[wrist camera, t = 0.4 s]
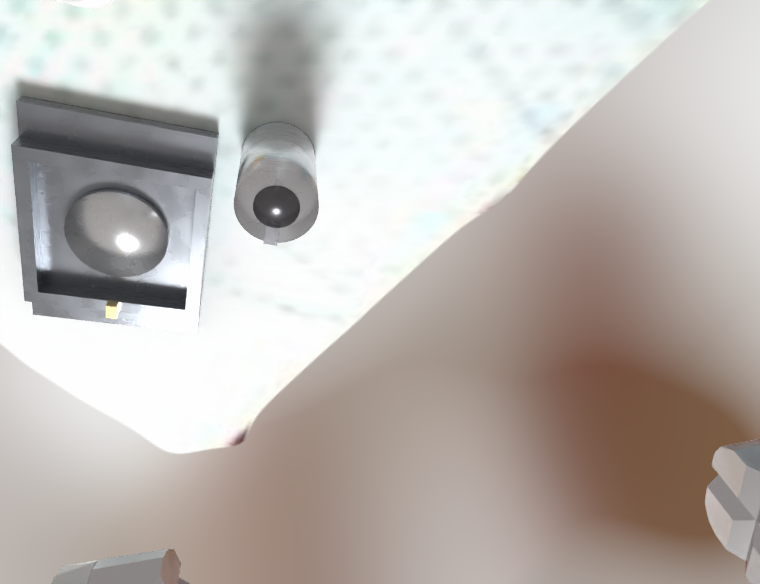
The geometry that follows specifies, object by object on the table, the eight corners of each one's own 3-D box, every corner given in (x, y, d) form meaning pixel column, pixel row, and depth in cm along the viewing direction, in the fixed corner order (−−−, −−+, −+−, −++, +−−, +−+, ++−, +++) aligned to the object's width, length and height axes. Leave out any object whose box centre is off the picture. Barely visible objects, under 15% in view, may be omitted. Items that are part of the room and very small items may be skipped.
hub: (246, 115, 44) (239, 161, 38) (320, 129, 46) (326, 177, 39) (237, 184, 47) (229, 238, 41) (307, 196, 49) (310, 250, 42)
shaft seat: (21, 96, 42) (3, 112, 39) (218, 133, 45) (214, 150, 42) (37, 307, 52) (23, 332, 49) (198, 325, 55) (193, 350, 52)
